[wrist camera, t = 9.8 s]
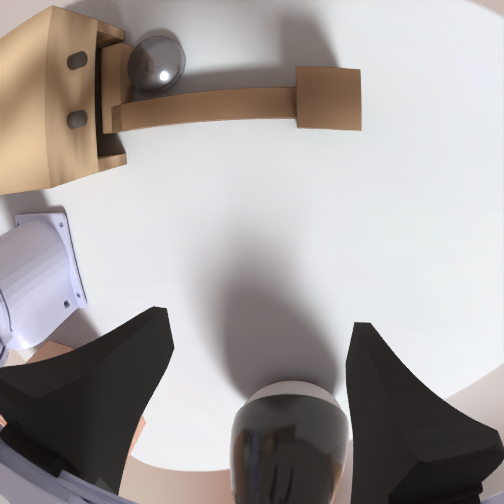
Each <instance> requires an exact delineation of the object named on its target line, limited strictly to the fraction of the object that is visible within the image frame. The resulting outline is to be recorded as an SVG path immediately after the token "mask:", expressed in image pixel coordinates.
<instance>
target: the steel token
mask: <svg viewBox="0 0 504 504" xmlns="http://www.w3.org/2000/svg"><path fill="white" fill-rule="evenodd" d="M185 62H186V59H185V53H184V51H183V49H182V47H181V46H180V45H179V44H178V43H176V42H174V41H173V40H171V39H169V38H167V37H163V36H156V37H151V38H148V39H146V40H144V41H143V42H141V43H140V44H139V45H138V46H137V47H136V48H135V49H134V50H133V52H132V53H131V55H130V58H129V60H128V65H127V73H128V77H129V80H130V81H131V83H132V84H133V85H134V86H135V87H136V88H138V89H140V90H144V91H150V92H160V91H163V90H166V89H168V88H170V87H171V86H173V85H174V84H175V83H176V82H177V81H178V80H179V78H180V77H181V75H182V73H183V71H184V68H185Z"/></svg>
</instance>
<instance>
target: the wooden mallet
mask: <svg viewBox="0 0 504 504" xmlns="http://www.w3.org/2000/svg"><path fill="white" fill-rule="evenodd" d="M133 50H134V47H132V46H129V45H127V44H124V43H118V44H114V45H111V46H108V47H105V48H102V71H101V90H102V122H103V134H108V133H117V132H123V131H129V130H136V129H142V128H150V127H157V126H165V125H174V124H183V123H194V122H206V121H221V120H241V119H297V128H310V129H333V130H358V131H361V74H360V70H359V69H348V68H334V67H313V66H296V87H268V88H242V89H227V90H215V91H204V92H195V93H187V94H179V95H172V96H165V97H159V98H153V99H147V100H142V101H136V102H134V85H133V84H132V83H131V81H130V80H129V77H128V73H127V65H128V60H129V58H130V55H131V53H132V52H133Z"/></svg>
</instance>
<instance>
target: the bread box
mask: <svg viewBox="0 0 504 504" xmlns="http://www.w3.org/2000/svg"><path fill="white" fill-rule="evenodd" d="M124 37H125V31H124V30H121V29H119V28H116V27H114V26H111V25H109V24H106V23H103V22H101V21H98V20H95V19H93V18H90V17H87V16H84V15H81V14H78V13H75V12H72V11H69V10H66V9H63V8H59V7H56V6H50V7H49V8H47V9H45V10H43V11H42V12H40V13H39V14H37V15H35V16H34V17H32V18H30V19H29V20H27V21H26V22H24V23H23V24H21V25H20V26H18V27H17V28H15V29H14V30H12V31H11V32H10V33H8V34H7V35H6V36H4V37H2V38H1V39H0V195H5V194H11V193H18V192H25V191H32V190H40V189H48V188H53V187H56V186H58V185H61V184H64V183H67V182H70V181H73V180H76V179H79V178H82V177H85V176H88V175H92V174H95V173H98V172H101V171H105V170H108V169H111V168H115V167H118V166H122V165H125V164H127V162H126V154H117V155H109V156H102V157H97V145H96V128H95V51H96V49H98V48H101V47H104V46H107V45H110V44H113V43H116V42H120V41H123V40H124Z"/></svg>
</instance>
